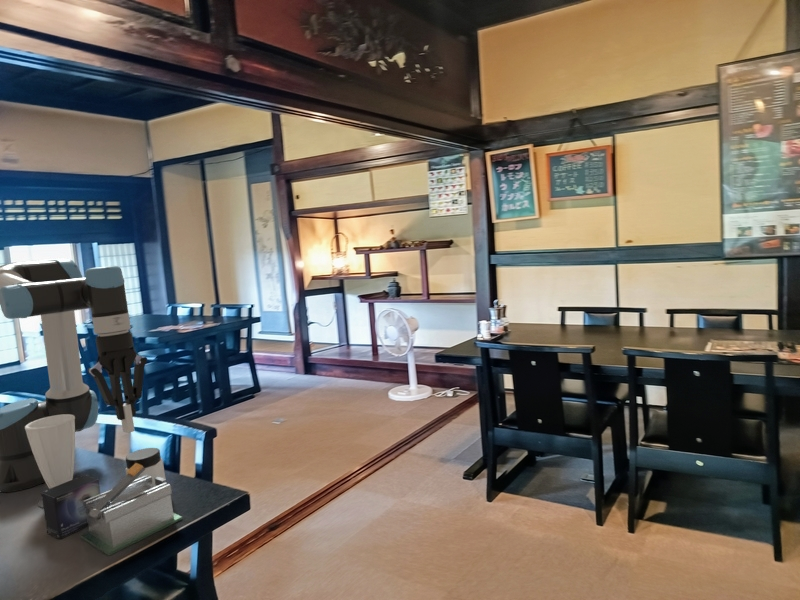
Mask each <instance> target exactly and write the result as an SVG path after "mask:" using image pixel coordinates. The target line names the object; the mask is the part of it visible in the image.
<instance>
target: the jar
mask: <svg viewBox="0 0 800 600" xmlns="http://www.w3.org/2000/svg"><path fill="white" fill-rule="evenodd" d="M125 462H126V468H124V469H125V470H124V471H125V476H126V475H127V473H126V472H127V471H128V470H129V469H130V468H131V467H132V466H133V465H134V464H135V463H138V464H140V465H142V466H143V467H144V468H145V470H144V471H143V472H142V473H141V474H140V475H139V476H138V477H137V478H136V479H138V478H141V477H143V476H145V475H148V476H151V477H152V483H153V486H152V487H156V485H155V478H156V477H158V476H159V477H161V478H164V479H166V474H165V467H164V459H163V458H162V457H161V450H160V449H159V448H157V447H146V448H141V449H138V450H135V451H133V452H130V453H128V454H127V455H126V457H125ZM136 479H135V480H136Z"/></svg>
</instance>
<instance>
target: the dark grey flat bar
mask: <svg viewBox="0 0 800 600" xmlns="http://www.w3.org/2000/svg"><path fill="white" fill-rule="evenodd" d="M144 470H145V468H144V467H143V466H142V465H140V464H138V463H135V464H134V465H133V466H132V467H131V468H130V469H129V470H128V471H127V472H126V471H125V475H124V477H122V478H121V479H120V481H118V483H116V484H115V486H113V488H111V489H112V490H111V489H109V490H110V491H109V490H108V491H109V492H108V493H107V494H106V495H105V496H104V497H103V498H102V499H101V500H100V501H99V502H98V503H97V504H96V505H95V506H94V507H92V506H90V507H88V508H87V509H86V514H87V515H88V516H89V517H91V518H92V519H94V520H95V519H96V520H99V519H101V515H100V510H102V509H105V508H107V507H108V506H109V505H110V504H111V503H112V502H113V501H114V500H115V499H116V498H117V497H118V496H119V495H120V494H121V493H122V492H123V491H124V490H125V489H126V488H127V487H128V486H129V485H130V484H131V483H132V482H133V481H134V480H135V479H136V478H137V477H138V476H139V475H140V474H141V473H142V472H143V471H144ZM126 473H127V475H126Z"/></svg>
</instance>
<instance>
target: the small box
mask: <svg viewBox="0 0 800 600" xmlns="http://www.w3.org/2000/svg"><path fill="white" fill-rule="evenodd" d="M40 494H41V499H42V500H43V507H44V508H43V512H44V513H43V515H44V519H45V526H46V534H47V535H49V536H51V537H54V538H56V539H58V540H62V539H64V538H66V537H68V536H70V535H72V534H74V533H77V532H78V531H81V530H83V529H84V528H87V527H88V520H87V514H86V511H84V507H83V501H84V500H87V499H89V498H91V497H94V496H96V495H99V494H101V490H100V481H99V479H98V478H96V477H94V476H91V475H87V474H83V475H80V476H77V477H76V478H73V479H72V480H70V481H68V482H65V483H63V484H60V485H58V486H55V487H53V488H50V489H49V488H48V489H46V490H43V491H41V492H40Z"/></svg>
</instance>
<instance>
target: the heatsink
mask: <svg viewBox="0 0 800 600" xmlns="http://www.w3.org/2000/svg"><path fill="white" fill-rule="evenodd" d="M155 485H156V487H152V486H153V483H152V477H151V476H148V475H145V476H143V477H141V478H138V479H136V480H134V481H133V482H132V483H131V484H130V485H129V486H128V487H127V488H126V489H125V490H124V491H123V492H122V493H121V494H120V495H119V496H118V497H117V498H116V499H115V500H114V501H113V502H112V503H111V504H110V505H109V506H108V507H107V508H105V509H102V510H100V515H101V519H99V520H96V519H95V520H94V519H92V518H91V517H89V516H88V515H87V520H88V526H87V527H88V531H87V532H85V533H83V534H81V535H80V538H81V540H83V541H85V542H87V543H88V544H89V545H91V546H93V547H95V548H96V549H98V550H99V551H101V552H102V553H104V554H105V555H108V556H112V555H114V554H116V553H117V552H120V551H121V550H123V549H126V548H128V547H129V546H131V545H134V544H136V543H137V542H139V541H142V540H143V539H146V538H148V537H150V536H151V535H154V534H156V533H157V532H159V531H162V530H163V529H166V528H167V527H169V526H171V525H174V524H176V523H178V522H180V521H182V520H183V516H181V515H179V514H177V513H175V512H174V510H173V502H172V496H171V495H172V493H173V492H172V486H171V484H170V483H167V479H166V478H165V479H164V478H161V477H159V476H158V477H156V478H155ZM112 489H113V488H111V489H109V490H107V491H104V492H102V493H101V492H100V494H99V495H96V496H94V497H91V498H89V499H87V500H84V501H83V507H84V511H86V509H87V508H88V507H90V506H92V507H94V506H95V505H96V504H97V503H98V502H99V501H100V500H101V499H102V498H103V497H104V496H105V495H106V494H107V493H108V492H109V491H110V490H112Z"/></svg>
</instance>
